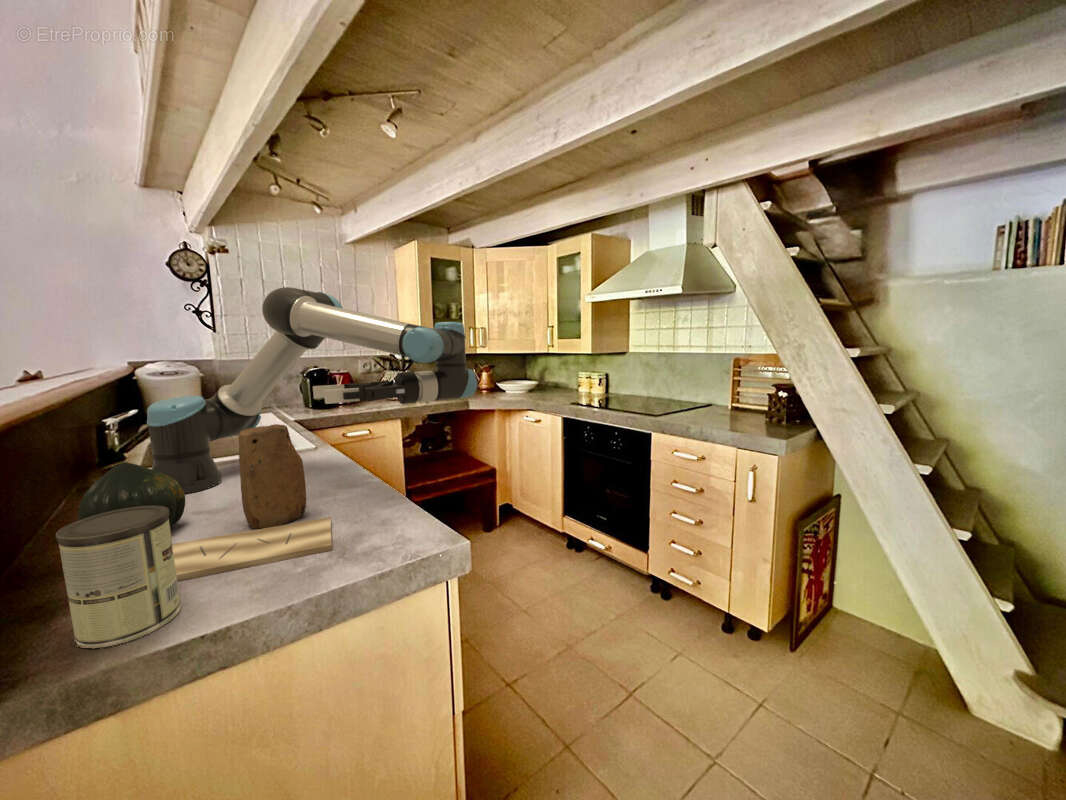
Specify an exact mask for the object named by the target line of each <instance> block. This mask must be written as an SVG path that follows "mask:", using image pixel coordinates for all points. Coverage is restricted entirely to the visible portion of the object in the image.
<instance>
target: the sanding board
mask: <svg viewBox="0 0 1066 800" xmlns="http://www.w3.org/2000/svg"><path fill="white" fill-rule="evenodd" d="M331 520H332V519H331V517H329V516H328V517H322V518H317V519H312V520H306V521H299V522H293V523H288V524H287V523H286V524H283V525H279V526H275V527H270V528H261V529H259V528H257V529H251V530H247V531H242V532H235V533H229V534H223V535H219V536H212V537H211V536H210V537H207V538H200V539H196V540H188V541H183V542H177V543H172V546H173V554H174V561H175V568H176V575H177V582H180V581H184V580H190V579H194V578H199V577H200V578H201V577H206V576H209V575H210V576H211V575H214V574H219V573H220V574H221V573H225V572H229V571H235V570H241V569H245V568H249V567H255V566H260V565H265V564H270V563H274V562H280V561H285V560H289V559H295V558H299V557H305V556H309V555H314V554H320V553H325V552H328V551H332V550H333V549H332V548H333V545H332V544H333V542H332V541H333V540H332V521H331Z"/></svg>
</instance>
